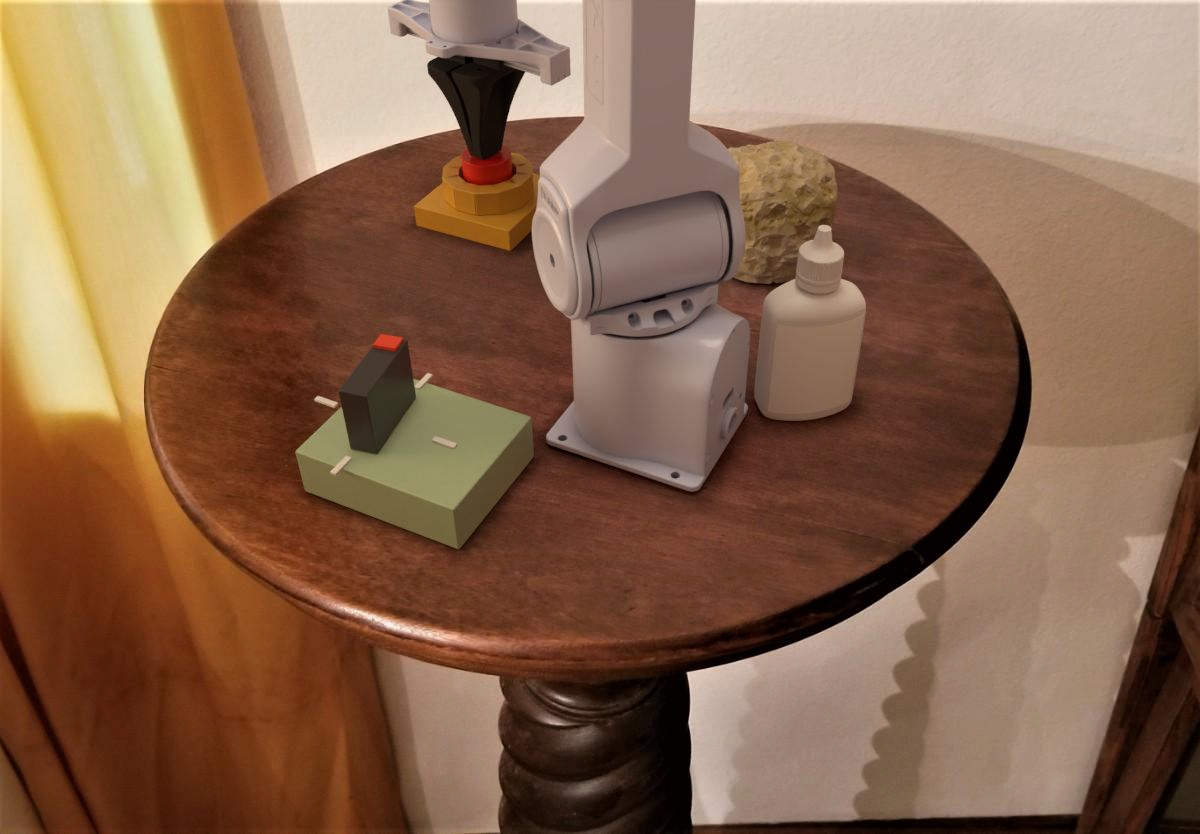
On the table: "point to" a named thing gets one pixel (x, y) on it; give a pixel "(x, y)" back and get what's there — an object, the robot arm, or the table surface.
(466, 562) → the table surface
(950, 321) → the table surface
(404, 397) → the knob
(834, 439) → the table surface
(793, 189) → the coral
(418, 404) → the panel
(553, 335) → the table surface
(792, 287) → the eye dropper bottle
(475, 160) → the button
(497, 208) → the button box
